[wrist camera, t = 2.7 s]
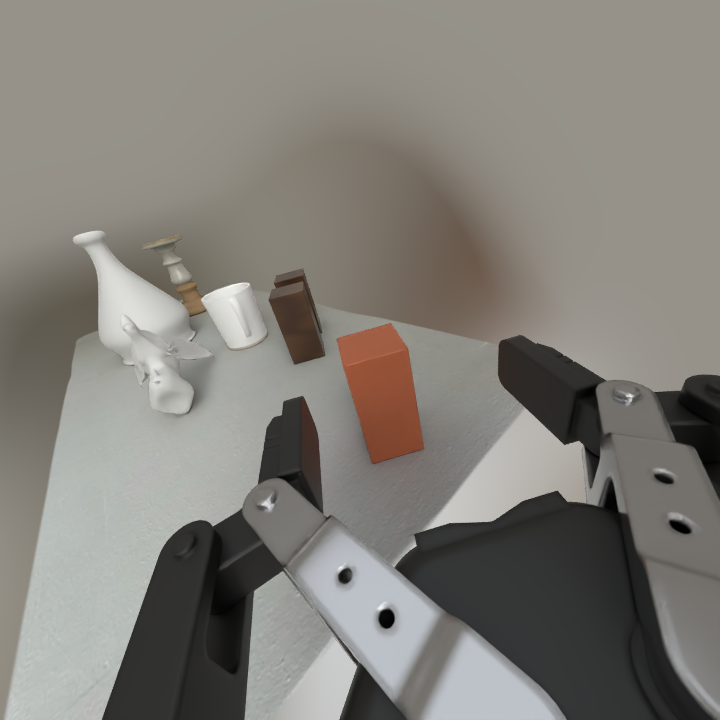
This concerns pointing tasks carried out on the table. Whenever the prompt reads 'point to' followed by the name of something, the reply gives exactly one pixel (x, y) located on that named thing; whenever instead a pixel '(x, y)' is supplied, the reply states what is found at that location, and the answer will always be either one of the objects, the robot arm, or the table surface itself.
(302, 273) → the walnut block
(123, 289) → the vase
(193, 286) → the candle holder
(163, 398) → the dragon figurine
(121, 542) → the table surface
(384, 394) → the terracotta block
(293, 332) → the walnut block mid
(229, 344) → the mug
